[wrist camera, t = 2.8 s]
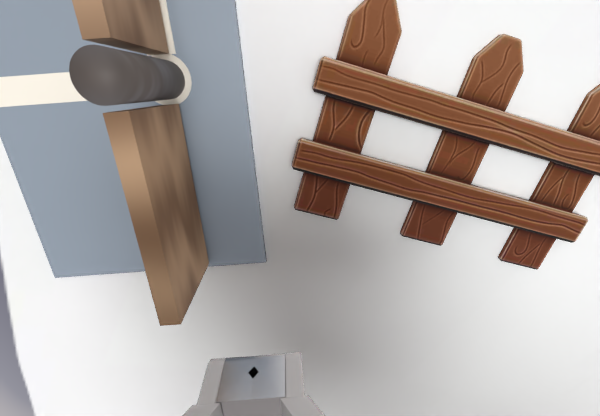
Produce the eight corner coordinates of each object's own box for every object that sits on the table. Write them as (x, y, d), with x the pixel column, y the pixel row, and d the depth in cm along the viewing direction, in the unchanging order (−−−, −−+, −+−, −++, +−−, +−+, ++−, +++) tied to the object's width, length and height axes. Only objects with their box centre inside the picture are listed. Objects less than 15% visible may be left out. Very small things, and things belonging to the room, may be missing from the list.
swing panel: (209, 263, 26) (180, 324, 19) (193, 264, 26) (160, 325, 19) (178, 103, 21) (128, 111, 15) (160, 105, 21) (102, 112, 15)
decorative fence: (539, 266, 28) (646, 87, 23) (555, 277, 26) (673, 87, 22) (281, 201, 25) (339, -17, 20) (280, 208, 24) (344, -26, 19)
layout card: (266, 260, 26) (265, 262, 26) (57, 275, 26) (54, 278, 26) (208, -221, 17) (206, -228, 16) (-124, -196, 17) (-133, -203, 16)
